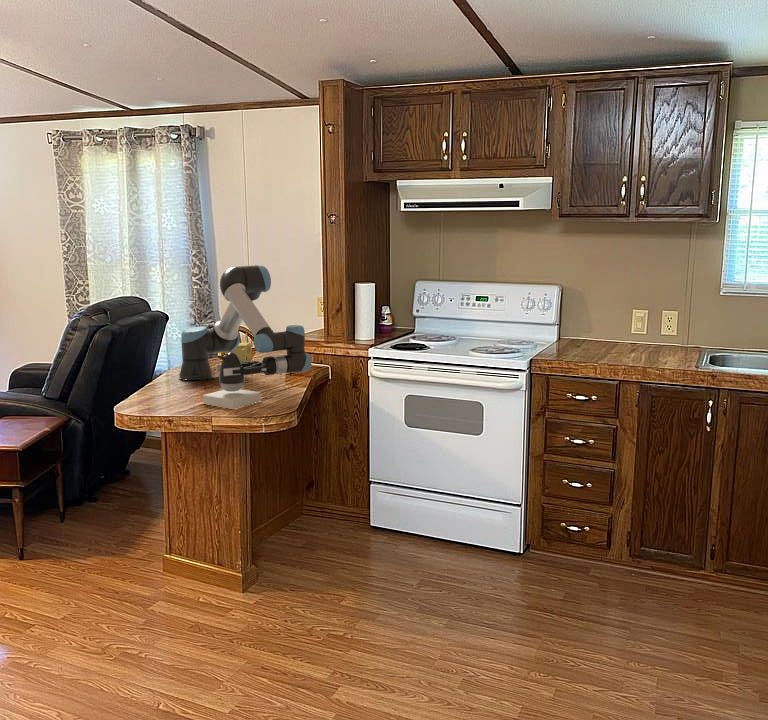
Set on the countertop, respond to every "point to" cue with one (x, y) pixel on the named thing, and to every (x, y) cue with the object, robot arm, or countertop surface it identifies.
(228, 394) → the riser
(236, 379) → the dark brown rounded piece
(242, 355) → the cheese
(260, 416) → the countertop surface
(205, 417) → the countertop surface
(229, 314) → the robot arm
